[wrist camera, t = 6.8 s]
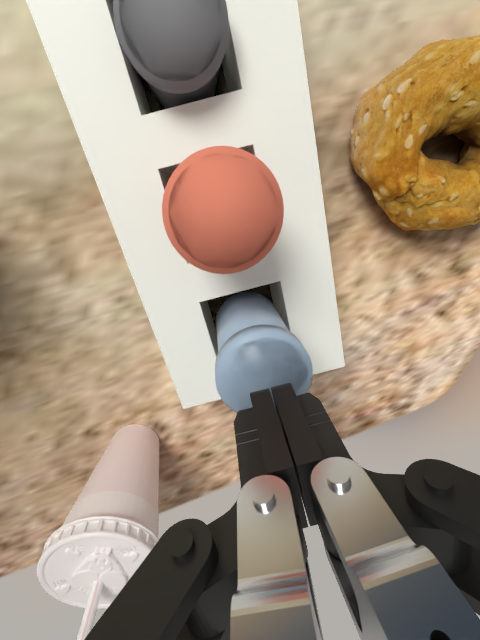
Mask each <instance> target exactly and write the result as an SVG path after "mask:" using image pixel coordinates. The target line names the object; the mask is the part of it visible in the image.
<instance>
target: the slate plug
mask: <svg viewBox="0 0 480 640" xmlns="http://www.w3.org/2000/svg"><path fill="white" fill-rule="evenodd" d="M216 330H217V343H218V355H217V358H216V362H215V381H216V388H217V391H218V393H219V396H220V397H221V399H222V400H223V402H224V403H225V404H226V405H227V406H228V407H229V408H231V409H232V410H234V411H235V412H237V413H238V411H240V410H244V409H248V408H252V402H251V398H250V393H251V392H255V391H259V390H263V389H267V388H269V389H270V392H271V395H272V391H271V387H274V386H278V385H282V384H286V383H291V384H292V387H293V389H294V391H295V393H296V396H298V395H301V394H305V393H306V392H307V391H308V389H309V387H310V384H311V381H312V375H313V368H312V362H311V359H310V356H309V354H308V353H307V351H306V349H305V348H304V346H303V345H302V343H301V341H300V340H299V339H298V338H297V337H296V336H295V335H294V334H293V333H291V332H290V331H289V330H288V329H287V327H286V325H285V324H284V322H283V320H282V319H281V317H280V315H279V314H278V312H277V310H276V308H275V307H274V305H273V304H272V302H271V301H270V300H269V299H268V298H266V297H265V296H263V295H261V294H258V293H254V292H243V293H238V294H235V295H233V296H231V297H230V298H228V299H227V300H226V301H225V302H224V303H223V304H222V306H221V307H220V309H219V311H218V313H217V317H216ZM272 398H273V396H272ZM273 402H274V400H273ZM274 405H275V404H274Z"/></svg>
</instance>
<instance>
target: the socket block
mask: <svg viewBox="0 0 480 640" xmlns="http://www.w3.org/2000/svg"><path fill="white" fill-rule="evenodd" d="M26 1H27V4H28V6H29V9H30V12H31V14H32V17H33V19H34V22H35V25H36V27H37V30H38V32H39V35H40V38H41V40H42V43H43V45H44V48H45V51H46V53H47V56H48V58H49V61H50V64H51V66H52V69H53V71H54V74H55V77H56V79H57V82H58V84H59V87H60V90H61V92H62V95H63V97H64V100H65V103H66V105H67V108H68V110H69V113H70V116H71V118H72V121H73V123H74V126H75V129H76V131H77V134H78V136H79V139H80V142H81V144H82V147H83V149H84V152H85V155H86V157H87V160H88V162H89V165H90V168H91V170H92V173H93V175H94V178H95V181H96V183H97V186H98V188H99V191H100V194H101V196H102V199H103V201H104V204H105V207H106V209H107V212H108V214H109V217H110V220H111V222H112V225H113V227H114V230H115V233H116V235H117V238H118V240H119V243H120V246H121V248H122V251H123V253H124V256H125V259H126V261H127V264H128V266H129V269H130V272H131V274H132V277H133V279H134V282H135V285H136V287H137V290H138V292H139V295H140V298H141V300H142V303H143V305H144V308H145V311H146V313H147V316H148V318H149V321H150V324H151V326H152V329H153V331H154V334H155V337H156V339H157V342H158V344H159V347H160V350H161V352H162V355H163V357H164V360H165V363H166V365H167V368H168V370H169V373H170V376H171V378H172V381H173V383H174V386H175V389H176V391H177V394H178V396H179V399H180V402H181V404H182V407H183V409H185V408H189V407H193V406H197V405H200V404H204V403H208V402H212V401H216V400H219V399H221V397H220V396H219V393H218V391H217V388H216V381H215V362H216V358H217V355H218V343H217V331H216V328H215V325H214V321H213V318H212V315H211V311H210V308H209V305H208V301H207V300H210V299H214V298H217V297H221V296H225V295H229V294H233V293H236V292H240V291H244V290H248V289H252V288H255V287H259V286H263V285H267V284H269V286H270V290H271V295H272V300H273V304H274V307H275V308H276V310H277V312H278V314H279V315H280V317H281V319H282V320H283V322H284V324H285V325H286V327H287V329H288V330H289V331H290V332H291V333H293V334H294V335H295V336H296V337H297V338H298V339H299V340H300V341H301V343H302V345H303V346H304V348H305V349H306V351H307V353H308V354H309V356H310V359H311V362H312V368H313V375H314V374H318V373H322V372H326V371H329V370H333V369H337V368H341V367H345V362H344V355H343V347H342V339H341V332H340V324H339V316H338V309H337V301H336V293H335V286H334V278H333V270H332V263H331V255H330V247H329V240H328V232H327V224H326V217H325V209H324V201H323V194H322V186H321V178H320V171H319V163H318V155H317V148H316V140H315V132H314V125H313V117H312V109H311V102H310V94H309V86H308V79H307V71H306V63H305V56H304V48H303V40H302V33H301V25H300V17H299V10H298V2H297V0H225V1H226V5H227V11H228V24H229V25H228V37H227V44H226V50H225V54H224V57H223V60H222V66H223V70H224V75H225V80H226V84H227V89H228V93H225V94H222V95H218V96H214V97H210V98H206V99H203V100H199V101H195V102H191V103H187V104H184V105H180V106H176V107H172V108H168V109H164V110H161V111H157V112H153V113H151V111H150V107H149V104H148V101H147V97H146V94H145V91H144V87H143V84H142V81H141V77H140V74H139V73H138V72H137V71H136V69H135V68H134V67H133V65H132V63H131V62H130V60H129V58H128V57H127V55H126V53H125V52H124V50H123V47H122V45H121V43H120V41H119V38H118V35H117V31H116V27H115V22H114V15H113V0H26ZM213 146H231V147H236V148H240V149H243V150H245V151H247V152H249V153H251V154H253V155H254V156H256V157H257V158H259V159H260V160H261V161H262V162H263V163H264V164H265V165H266V166H267V167H268V168H269V169H270V171H271V172H272V173H273V175H274V177H275V178H276V180H277V182H278V185H279V187H280V190H281V193H282V198H283V205H284V217H283V224H282V228H281V232H280V234H279V237H278V239H277V241H276V243H275V245H274V246H273V248H272V249H271V251H270V252H269V253H268V254H267V255H266V256H265V257H264V258H263V259H262V260H261V261H260V262H259V263H257V264H255V265H254V266H252V267H250V268H248V269H246V270H244V271H241V272H237V273H232V274H216V273H211V272H207V271H204V270H201V269H199V268H197V267H195V266H193V265H192V264H190V263H189V262H187V261H186V260H185V259H184V258H183V257H182V256H181V255H180V254H179V253H178V252H177V251H176V249H175V248H174V247H173V245H172V244H171V242H170V240H169V238H168V236H167V233H166V231H165V227H164V223H163V217H162V201H163V195H164V191H165V187H166V185H167V183H168V180H169V178H170V174H172V173H173V172H174V170H175V169H176V168H177V167H178V165H179V164H180V163H181V162H182V161H183V160H184V159H186V158H187V157H189V156H190V155H191V154H193V153H195V152H197V151H199V150H202V149H205V148H208V147H213Z"/></svg>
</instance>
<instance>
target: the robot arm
mask: <svg viewBox="0 0 480 640" xmlns="http://www.w3.org/2000/svg"><path fill="white" fill-rule="evenodd" d="M271 391H272V395H271V392H270V389H269V388H267V389H263V390H259V391H255V392H251V393H250V398H251V402H252V408H248V409H244V410H240V411H238V413H237V416H236V418H235V421H234V428H235V435H236V436H235V437H236V444H237V454H238V463H239V472H240V481H241V490H240V492H239V494H238V498H237V501H236V503H235V504H234V506H233V507H232V508H231V509H230V510H229V511H228V512H227V513H225V514H224V515H223V516H221V517H220V518H218V519H216V520H215V521H213V522H211V523H210V524H208V525H206V524H205V523H204V522H202V521H200V520H198V519H186V520H182V521H180V522H178V523H176V524H174V525H173V526H172V527H170V528H169V529H168V530H167V531H166V532H165V533H164V534H163V535H162V537H161V538H160V539H159V541H158V542H157V543H156V545H155V546H154V547H153V549H152V550H151V551H150V553H149V554H148V555H147V557H146V558H145V559H144V561H143V562H142V563H141V565H140V566H139V567H138V569H137V570H136V571H135V573H134V574H133V575H132V577H131V578H130V579H129V581H128V582H127V583H126V585H125V586H124V587H123V589H122V590H121V591H120V593H119V594H118V595H117V597H116V598H115V599H114V601H113V602H112V603H111V605H110V606H109V607H108V609H107V610H106V611H105V613H104V614H103V615H102V617H101V618H100V619H99V621H98V622H97V623H96V625H95V626H94V627H93V629H92V630H91V631H90V633H89V634H88V635H87V637H86V638H85V639H84V640H323V635H322V630H321V625H320V620H319V615H318V610H317V605H316V599H315V595H314V590H313V585H312V579H311V574H310V569H309V565H308V560H307V557H308V550H307V545H306V541H305V537H304V533H303V529H302V528H306V527H308V524H307V520H306V516H305V512H304V507H305V510H306V514H307V517H308V520H309V523H310V526H313V525H316V524H318V525H319V529H320V532H321V535H322V538H323V541H324V546H325V551H326V554H327V557H328V560H329V562H330V564H331V567H332V569H333V572H334V574H335V576H336V579H337V582H338V584H339V587H340V589H341V592H342V594H343V597H344V599H345V601H346V604H347V606H348V609H349V611H350V614H351V616H352V619H353V621H354V624H355V626H356V629H357V631H358V633H359V636H360V639H361V640H480V619H479V618H478V616H477V615H476V613H477V614H478V615H480V475H477V474H475V473H472V472H470V471H467V470H465V469H462V468H459V467H457V466H455V465H452V464H450V463H447V462H444V461H440V460H435V459H424V460H419V461H416V462H414V463H412V464H411V465H410V466H409V467H408V468H407V470H406V472H405V475H400V474H399V475H398V474H381V473H375V472H371V471H368V470H366V469H364V468H362V467H361V466H360V465H359V464H358V463H356V462H355V461H353V459H352V458H351V457H350V455H349V453H348V451H347V450H346V448H345V446H344V444H343V442H342V440H341V438H340V437H339V435H338V433H337V431H336V429H335V427H334V426H333V424H332V422H331V421H330V418H329V416H328V414H327V413H326V411H325V409H324V407H323V405H322V403H321V401H320V400H319V399H318V398H316V397H315V396H313V395H312V394H310V393H305V394H301V395H298V396H296V393H295V391H294V389H293V387H292V384H291V383H286V384H282V385H278V386H274V387H271ZM272 396H273V398H272ZM273 400H274V402H273ZM274 404H275V405H274ZM300 494H301V495H300ZM301 497H302V499H301ZM302 501H303V503H302ZM303 504H304V507H303Z"/></svg>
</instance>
